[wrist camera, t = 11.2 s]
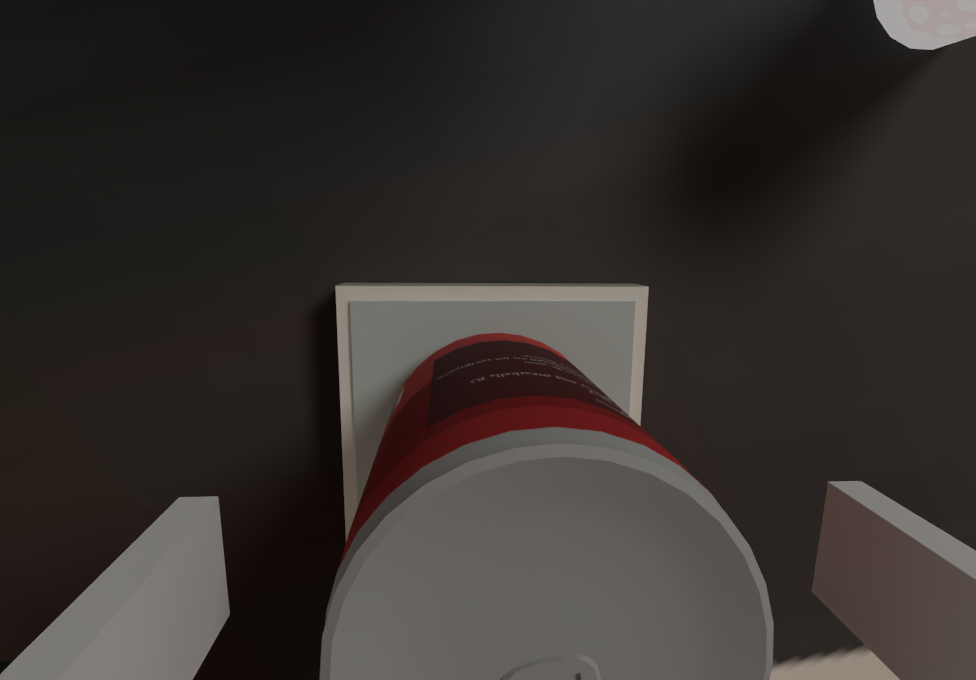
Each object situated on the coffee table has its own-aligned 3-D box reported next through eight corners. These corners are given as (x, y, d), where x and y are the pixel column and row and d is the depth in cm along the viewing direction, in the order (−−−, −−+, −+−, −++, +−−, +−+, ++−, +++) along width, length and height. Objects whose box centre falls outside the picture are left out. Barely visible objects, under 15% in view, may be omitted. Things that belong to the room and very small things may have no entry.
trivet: (343, 282, 20) (334, 286, 18) (634, 283, 21) (650, 287, 19) (354, 554, 22) (346, 579, 20) (619, 545, 22) (632, 568, 21)
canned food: (449, 568, 20) (451, 940, 9) (347, 387, 19) (213, 581, 8) (630, 481, 20) (843, 754, 9) (544, 291, 19) (678, 355, 8)
